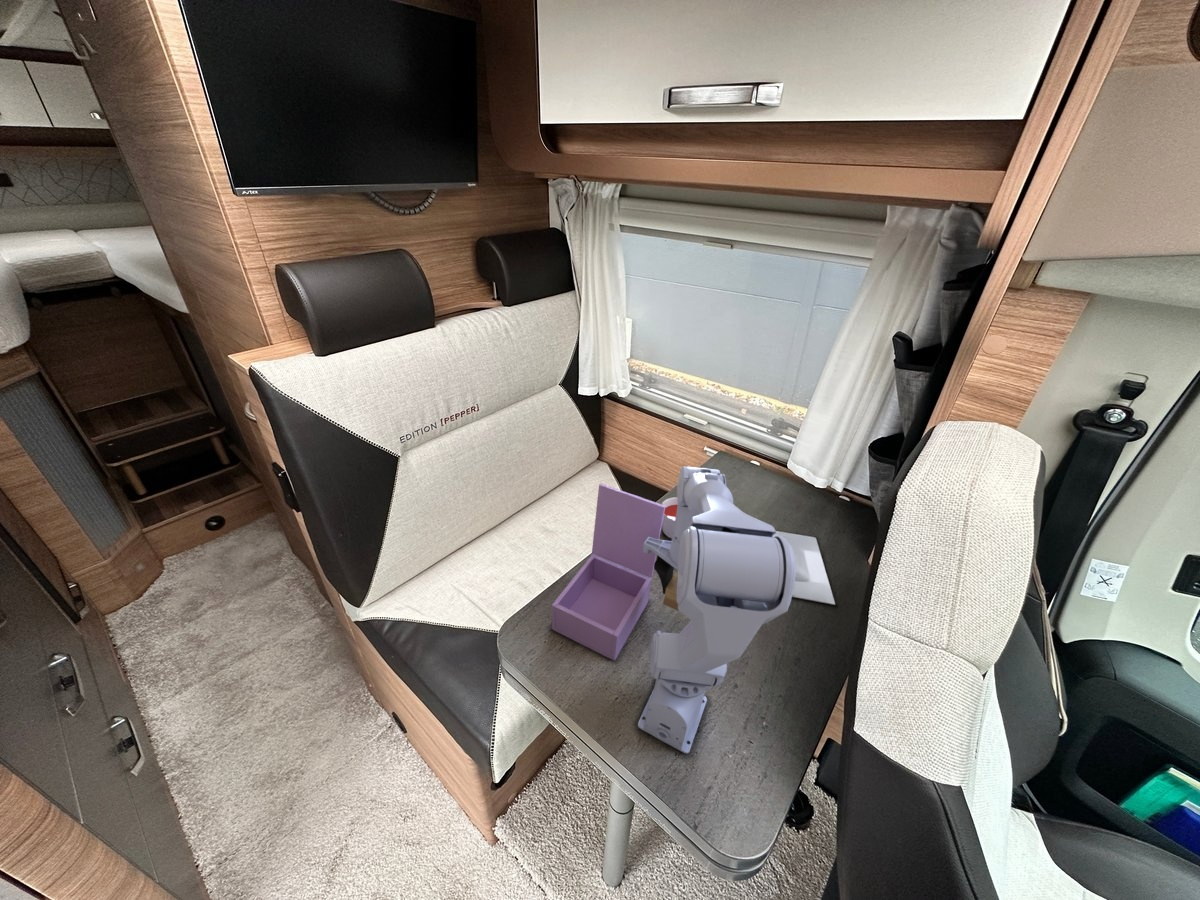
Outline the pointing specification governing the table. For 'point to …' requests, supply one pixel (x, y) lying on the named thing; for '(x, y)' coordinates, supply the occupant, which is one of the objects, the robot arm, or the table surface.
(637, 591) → the open box
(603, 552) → the purple box lid
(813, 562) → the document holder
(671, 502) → the candle
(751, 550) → the robot arm
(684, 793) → the table surface
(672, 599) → the block
